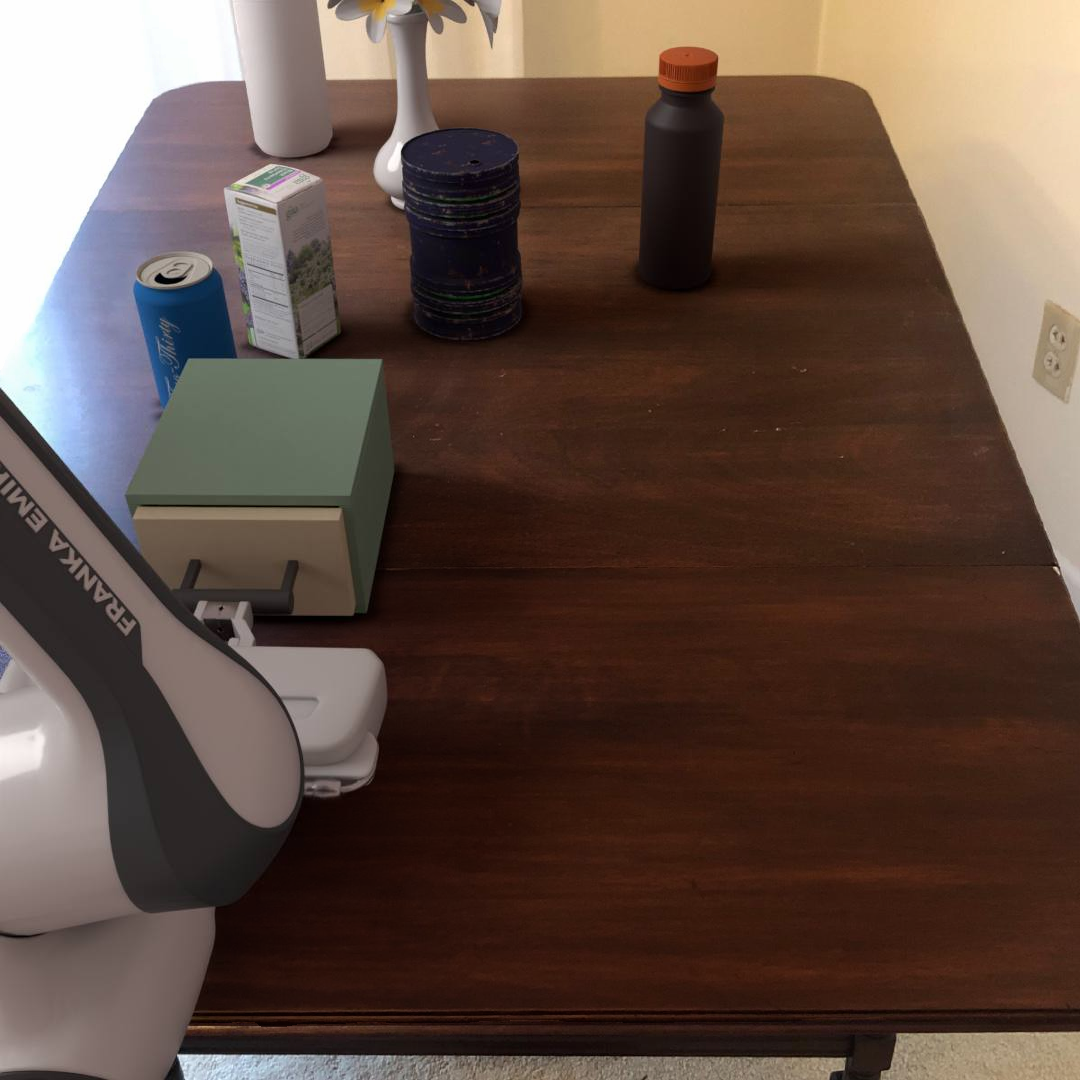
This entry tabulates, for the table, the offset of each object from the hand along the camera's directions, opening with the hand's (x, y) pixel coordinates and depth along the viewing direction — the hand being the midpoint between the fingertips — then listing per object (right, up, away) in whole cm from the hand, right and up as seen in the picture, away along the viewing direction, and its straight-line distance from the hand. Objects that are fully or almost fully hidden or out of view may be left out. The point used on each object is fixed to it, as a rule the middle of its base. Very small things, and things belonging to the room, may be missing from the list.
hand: (227, 609), depth 71 cm
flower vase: (+6, +40, +57) cm, 69 cm away
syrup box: (-3, +21, +34) cm, 40 cm away
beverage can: (-9, +15, +27) cm, 32 cm away
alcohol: (-10, +49, +68) cm, 85 cm away
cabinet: (0, +4, +14) cm, 14 cm away
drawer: (0, +3, +10) cm, 10 cm away
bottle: (+31, +29, +43) cm, 60 cm away
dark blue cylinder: (+12, +24, +38) cm, 46 cm away
